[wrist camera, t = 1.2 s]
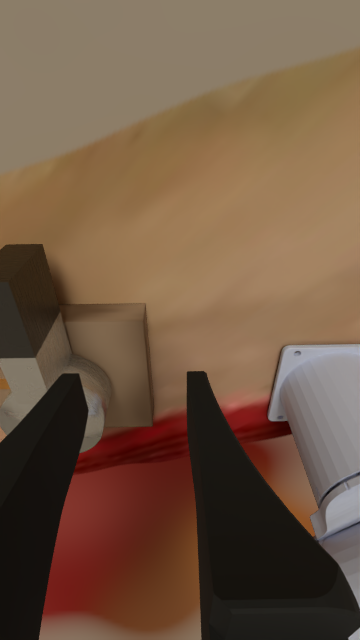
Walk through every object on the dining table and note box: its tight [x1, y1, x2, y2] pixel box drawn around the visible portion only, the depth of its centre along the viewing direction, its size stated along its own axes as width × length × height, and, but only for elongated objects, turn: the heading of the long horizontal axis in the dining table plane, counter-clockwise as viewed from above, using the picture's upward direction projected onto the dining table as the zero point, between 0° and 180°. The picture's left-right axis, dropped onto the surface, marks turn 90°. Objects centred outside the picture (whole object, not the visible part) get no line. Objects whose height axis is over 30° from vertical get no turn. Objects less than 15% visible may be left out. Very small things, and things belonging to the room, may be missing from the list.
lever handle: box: [0, 244, 111, 453], centre depth 18 cm, size 13×6×4 cm, turn 1°
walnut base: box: [0, 303, 154, 427], centre depth 23 cm, size 11×10×2 cm
